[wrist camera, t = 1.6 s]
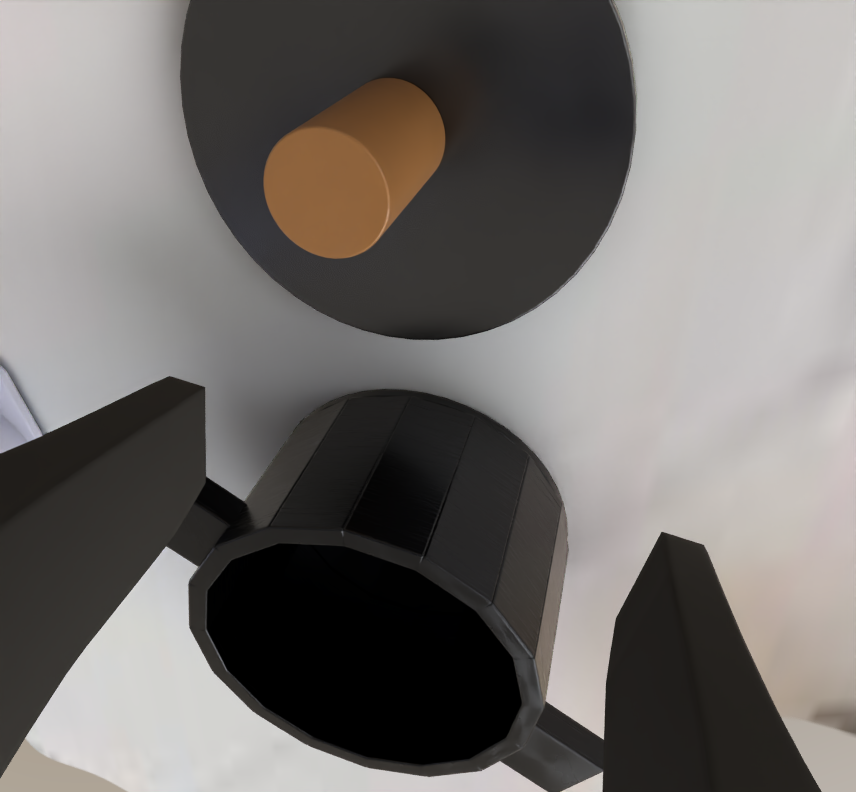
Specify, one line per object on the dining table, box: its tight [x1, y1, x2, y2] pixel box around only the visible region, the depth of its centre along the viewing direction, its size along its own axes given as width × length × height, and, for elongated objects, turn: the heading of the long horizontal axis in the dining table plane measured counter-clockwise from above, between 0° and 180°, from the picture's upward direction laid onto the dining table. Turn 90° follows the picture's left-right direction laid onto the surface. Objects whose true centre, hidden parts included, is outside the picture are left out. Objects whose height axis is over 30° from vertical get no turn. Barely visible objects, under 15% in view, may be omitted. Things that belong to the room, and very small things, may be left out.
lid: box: [180, 0, 637, 340], centre depth 16 cm, size 11×11×6 cm
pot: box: [166, 389, 604, 792], centre depth 24 cm, size 10×16×6 cm, turn 56°
